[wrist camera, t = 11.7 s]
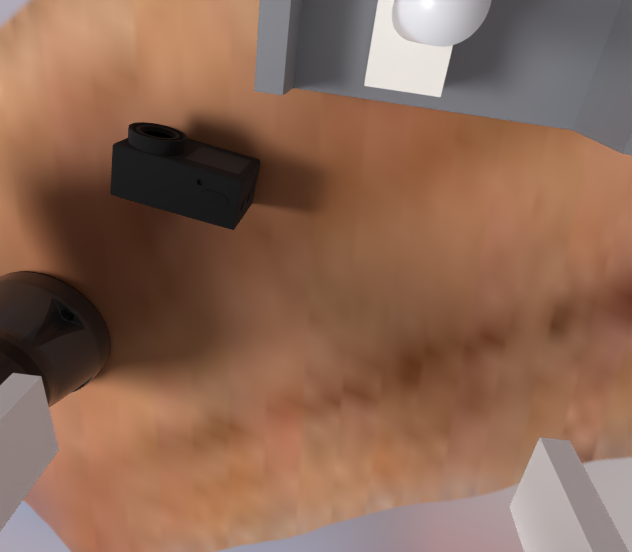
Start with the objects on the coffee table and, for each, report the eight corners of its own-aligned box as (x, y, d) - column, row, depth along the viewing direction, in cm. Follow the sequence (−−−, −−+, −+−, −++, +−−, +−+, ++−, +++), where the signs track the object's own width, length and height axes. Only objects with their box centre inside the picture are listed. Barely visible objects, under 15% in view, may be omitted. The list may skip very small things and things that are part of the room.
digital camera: (265, 147, 41) (246, 167, 35) (253, 203, 44) (234, 231, 37) (151, 113, 41) (112, 127, 34) (146, 172, 43) (109, 195, 37)
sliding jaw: (365, 78, 35) (360, 113, 19) (388, -66, 31) (408, -171, 15) (429, 87, 35) (478, 131, 19) (462, -56, 31) (560, -151, 15)
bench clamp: (273, 81, 38) (243, 96, 29) (287, -100, 33) (256, -150, 24) (612, 133, 37) (687, 163, 29) (687, -45, 32) (810, -76, 23)
